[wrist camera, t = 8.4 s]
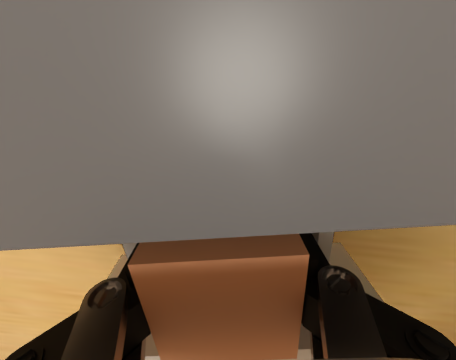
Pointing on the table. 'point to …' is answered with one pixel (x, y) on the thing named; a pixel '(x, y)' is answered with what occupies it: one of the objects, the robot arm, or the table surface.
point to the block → (223, 296)
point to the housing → (223, 118)
